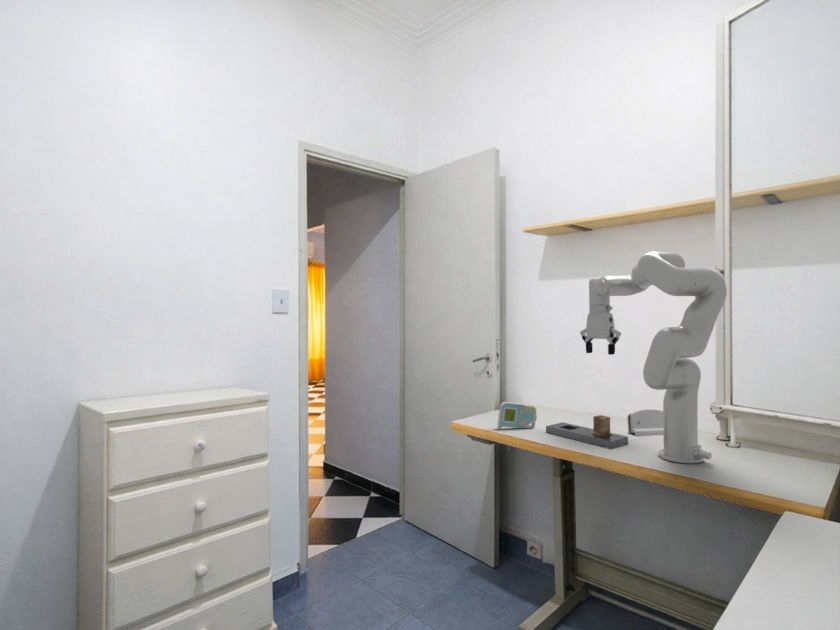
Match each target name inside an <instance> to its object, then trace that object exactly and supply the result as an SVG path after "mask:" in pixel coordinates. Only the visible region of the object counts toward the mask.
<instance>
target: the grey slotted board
mask: <svg viewBox="0 0 840 630" xmlns="http://www.w3.org/2000/svg"><path fill="white" fill-rule="evenodd" d="M545 433H547V434H551V435H555V436H559V437H563V438H567V439H570V440H571V439H572V440H575V441H579V442H583V443H586V444H591V445H595V446H600V447H603V448H608V449H611V450H612V449H615V448H619V447H621V446H625V445H628V444H629V436H626V435H622V434H617V433H613V432H610V436H609V437H605V438H603V437H599V436H594V428H590V427H587V426H581V425H577V424H572V423H566V422H557V423H554V424H549V425H545Z"/></svg>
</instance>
